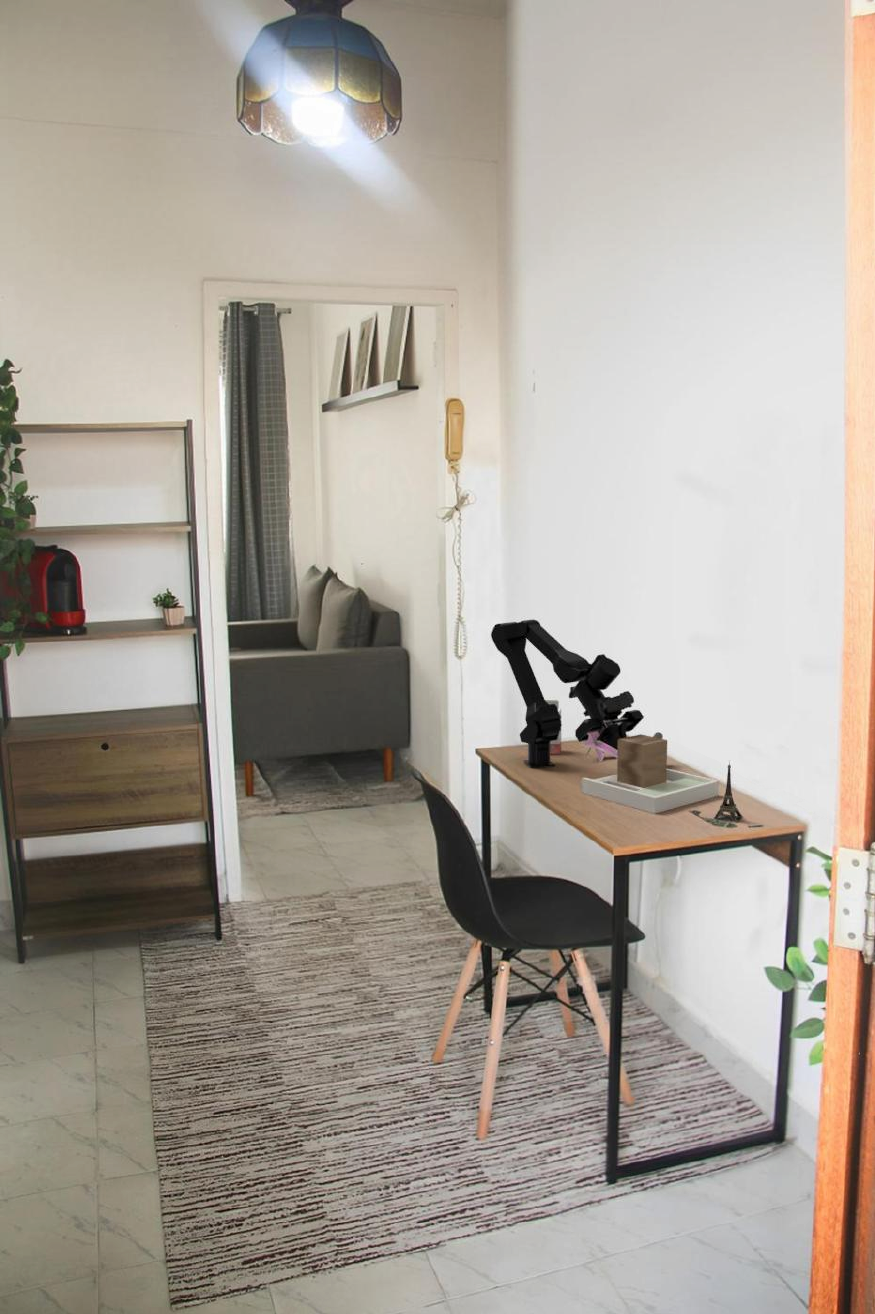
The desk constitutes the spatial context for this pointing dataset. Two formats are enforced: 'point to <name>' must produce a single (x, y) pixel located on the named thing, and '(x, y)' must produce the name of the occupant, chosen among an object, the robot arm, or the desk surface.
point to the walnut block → (642, 761)
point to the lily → (599, 746)
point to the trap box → (654, 791)
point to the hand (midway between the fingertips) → (628, 754)
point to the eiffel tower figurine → (725, 809)
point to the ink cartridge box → (556, 744)
